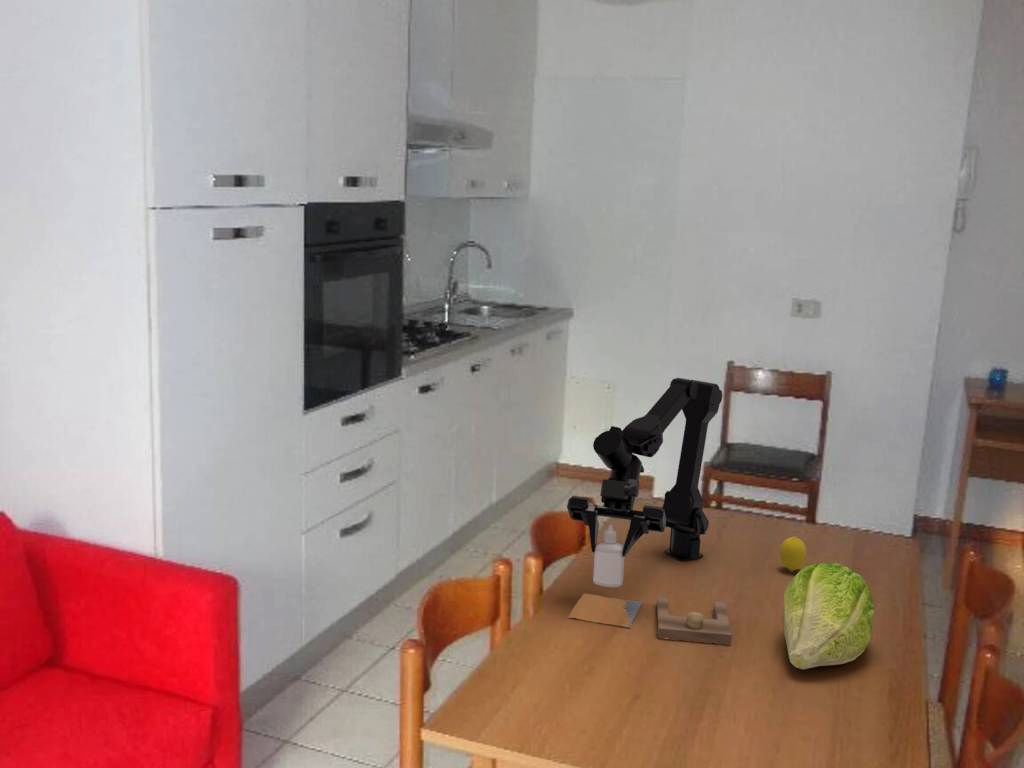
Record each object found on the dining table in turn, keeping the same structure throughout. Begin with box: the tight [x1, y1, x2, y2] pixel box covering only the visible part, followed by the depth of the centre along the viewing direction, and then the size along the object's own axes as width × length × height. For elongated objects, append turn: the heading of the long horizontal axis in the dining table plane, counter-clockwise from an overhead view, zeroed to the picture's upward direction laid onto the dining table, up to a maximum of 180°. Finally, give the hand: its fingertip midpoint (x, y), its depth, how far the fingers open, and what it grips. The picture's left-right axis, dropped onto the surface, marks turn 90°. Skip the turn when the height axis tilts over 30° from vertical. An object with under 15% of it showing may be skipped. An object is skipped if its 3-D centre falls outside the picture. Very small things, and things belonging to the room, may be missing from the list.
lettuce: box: [782, 562, 875, 670], centre depth 176 cm, size 15×25×16 cm
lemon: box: [779, 535, 807, 572], centre depth 214 cm, size 6×6×8 cm
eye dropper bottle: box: [592, 523, 625, 588], centre depth 189 cm, size 4×6×12 cm
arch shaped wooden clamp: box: [656, 595, 733, 646], centre depth 186 cm, size 15×13×4 cm
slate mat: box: [623, 599, 643, 627], centre depth 191 cm, size 12×12×1 cm
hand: (608, 553), depth 188 cm, fingers closed on eye dropper bottle, 6 cm apart
